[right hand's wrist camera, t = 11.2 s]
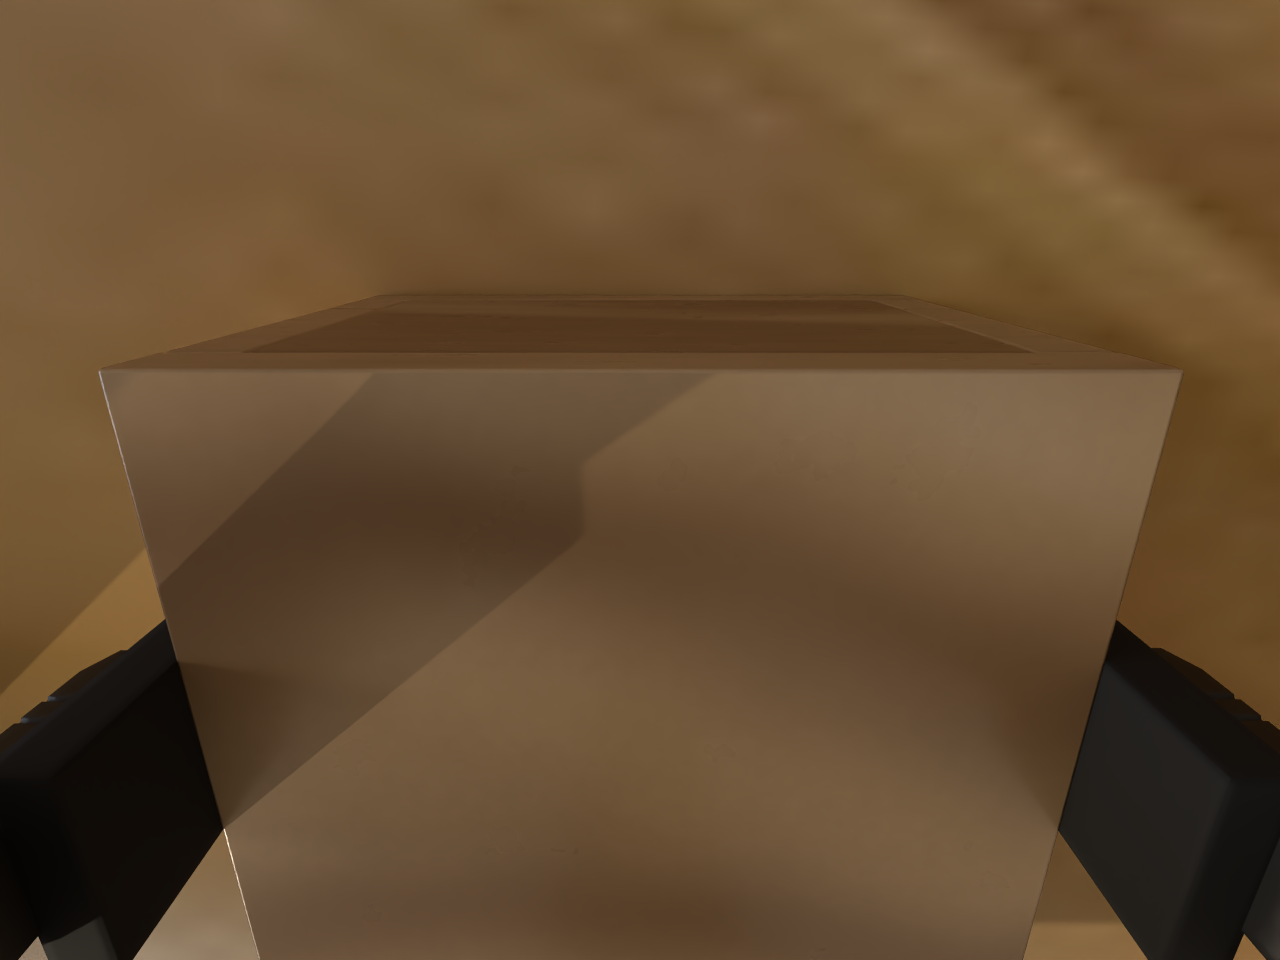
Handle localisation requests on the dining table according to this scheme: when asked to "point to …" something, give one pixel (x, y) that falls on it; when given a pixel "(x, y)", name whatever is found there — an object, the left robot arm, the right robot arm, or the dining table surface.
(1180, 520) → the dining table surface
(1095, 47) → the dining table surface
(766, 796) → the cabinet
